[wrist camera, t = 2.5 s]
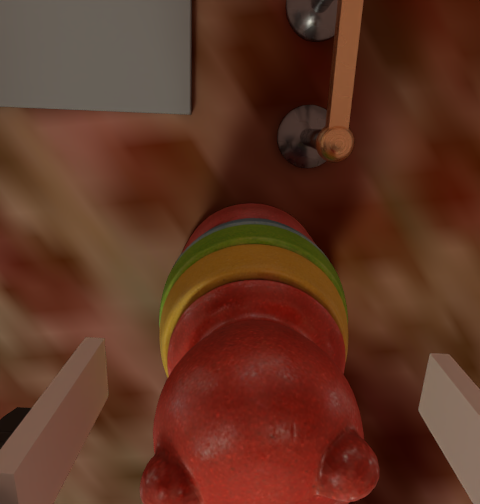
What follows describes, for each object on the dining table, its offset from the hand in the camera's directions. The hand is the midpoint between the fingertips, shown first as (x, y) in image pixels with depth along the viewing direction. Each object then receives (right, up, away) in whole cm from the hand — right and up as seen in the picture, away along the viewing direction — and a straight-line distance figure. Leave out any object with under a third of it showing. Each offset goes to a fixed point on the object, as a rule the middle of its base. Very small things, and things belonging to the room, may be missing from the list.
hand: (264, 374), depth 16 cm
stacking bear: (0, +4, +11) cm, 12 cm away
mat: (-10, +19, +6) cm, 22 cm away
